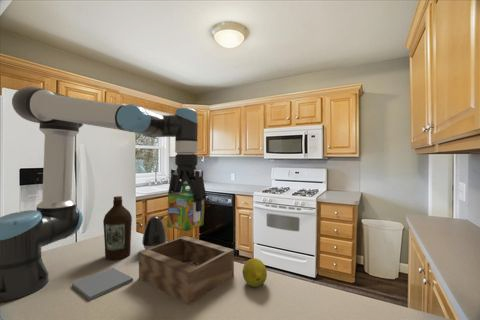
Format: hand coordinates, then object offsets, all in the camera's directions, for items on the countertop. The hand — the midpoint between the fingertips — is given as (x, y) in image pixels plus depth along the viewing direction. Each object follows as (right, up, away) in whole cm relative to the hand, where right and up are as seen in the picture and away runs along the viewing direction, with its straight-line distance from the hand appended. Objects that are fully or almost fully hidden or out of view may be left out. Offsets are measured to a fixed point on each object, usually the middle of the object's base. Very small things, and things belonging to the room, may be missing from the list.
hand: (186, 218), depth 81 cm
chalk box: (0, -3, 0) cm, 3 cm away
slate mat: (-26, -20, -4) cm, 33 cm away
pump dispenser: (-20, -20, +24) cm, 37 cm away
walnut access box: (0, -20, 0) cm, 20 cm away
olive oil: (-33, -20, +17) cm, 42 cm away
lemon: (+23, -20, -5) cm, 32 cm away
